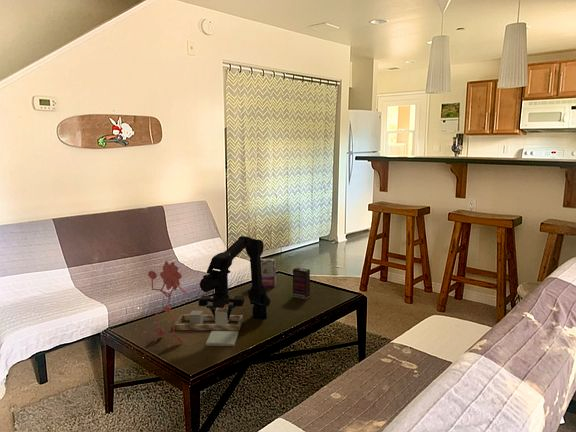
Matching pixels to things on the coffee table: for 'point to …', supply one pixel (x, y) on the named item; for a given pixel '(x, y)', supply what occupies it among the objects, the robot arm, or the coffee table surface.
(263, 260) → the candy bar box
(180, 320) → the bin
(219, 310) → the labelled block
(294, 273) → the supplement box
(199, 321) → the grey block
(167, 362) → the coffee table surface
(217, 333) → the sage board
